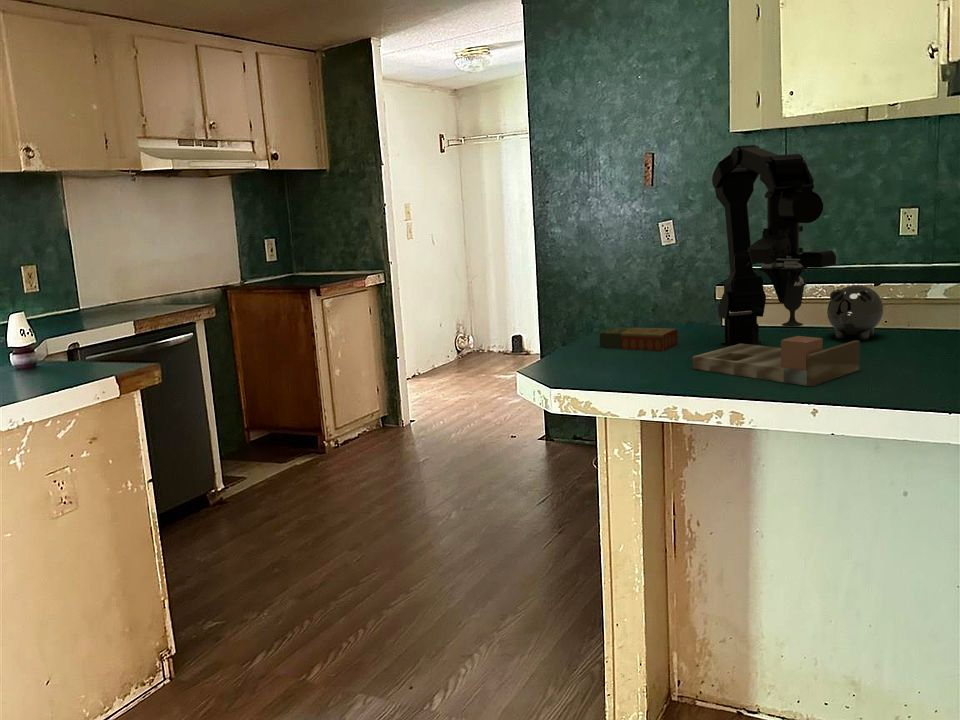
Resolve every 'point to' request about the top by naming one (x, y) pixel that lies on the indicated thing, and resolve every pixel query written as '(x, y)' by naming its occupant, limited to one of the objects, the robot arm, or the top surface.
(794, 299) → the sundae
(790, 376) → the brown wooden compartment tray
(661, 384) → the top surface
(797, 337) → the block
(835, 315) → the piggy bank
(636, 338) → the carton
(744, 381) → the top surface
